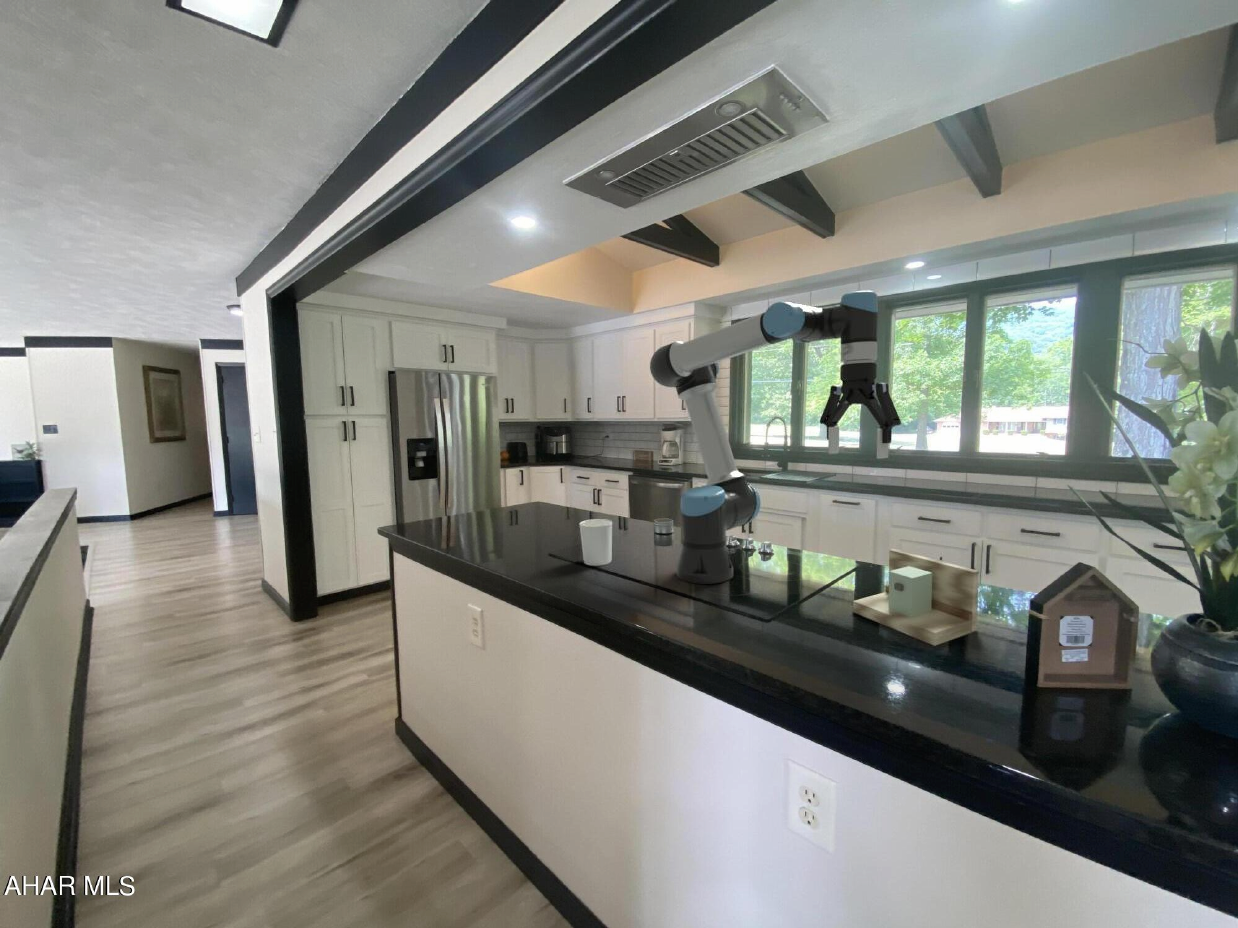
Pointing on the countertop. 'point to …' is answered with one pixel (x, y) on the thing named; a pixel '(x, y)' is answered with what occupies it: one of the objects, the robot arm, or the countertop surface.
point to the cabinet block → (910, 591)
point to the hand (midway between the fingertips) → (856, 455)
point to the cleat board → (948, 605)
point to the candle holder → (596, 541)
